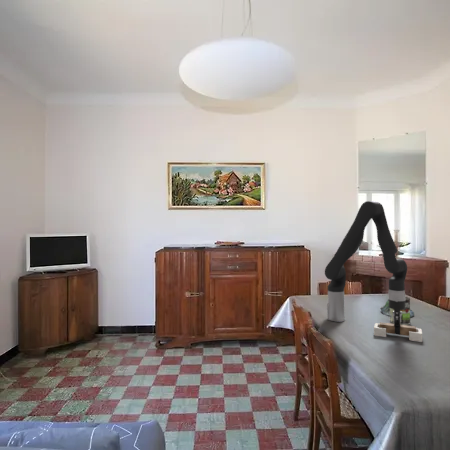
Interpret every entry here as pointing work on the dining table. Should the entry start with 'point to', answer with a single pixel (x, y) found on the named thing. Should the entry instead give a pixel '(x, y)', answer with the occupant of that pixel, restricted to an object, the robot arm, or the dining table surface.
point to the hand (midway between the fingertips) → (397, 332)
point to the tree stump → (386, 310)
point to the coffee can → (403, 313)
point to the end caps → (412, 335)
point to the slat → (403, 328)
